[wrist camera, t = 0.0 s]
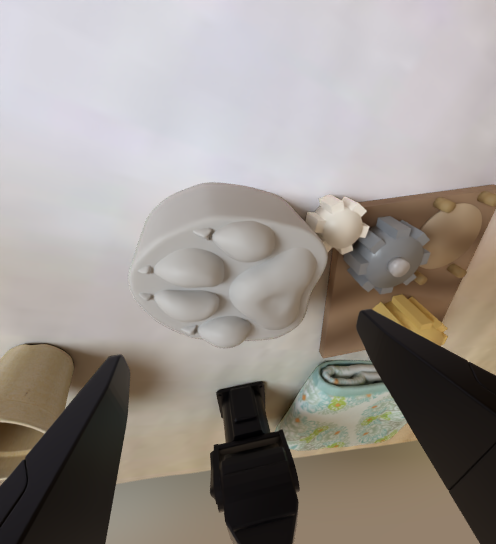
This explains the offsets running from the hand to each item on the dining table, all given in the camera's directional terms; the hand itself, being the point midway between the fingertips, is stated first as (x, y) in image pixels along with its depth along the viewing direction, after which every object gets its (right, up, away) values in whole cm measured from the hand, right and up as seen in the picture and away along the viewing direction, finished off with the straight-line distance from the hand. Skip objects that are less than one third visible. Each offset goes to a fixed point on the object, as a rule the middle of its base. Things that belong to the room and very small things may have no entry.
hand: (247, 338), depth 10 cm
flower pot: (-21, -7, +18) cm, 29 cm away
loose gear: (+17, -3, +22) cm, 28 cm away
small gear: (+7, +7, +14) cm, 17 cm away
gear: (+12, +5, +16) cm, 21 cm away
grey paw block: (-3, +5, +14) cm, 15 cm away
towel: (+16, -17, +34) cm, 41 cm away
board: (+17, +2, +21) cm, 27 cm away
